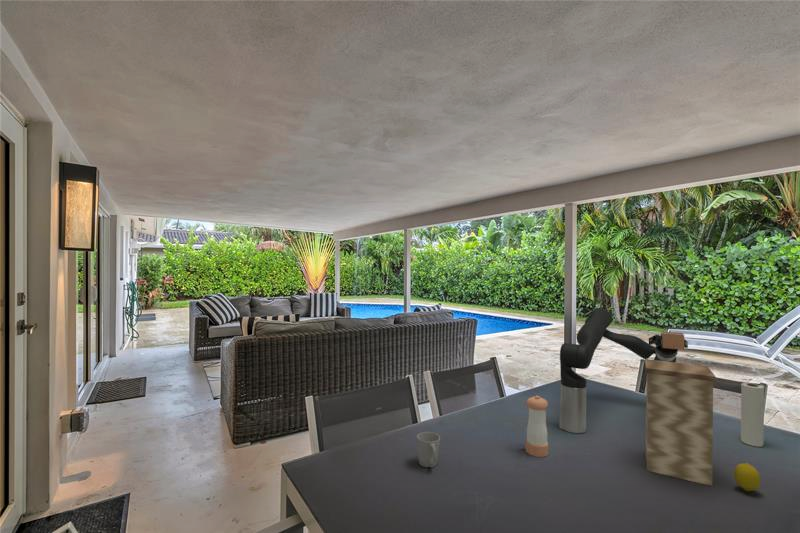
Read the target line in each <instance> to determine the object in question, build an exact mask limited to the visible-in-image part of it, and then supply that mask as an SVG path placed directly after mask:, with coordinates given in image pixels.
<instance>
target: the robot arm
mask: <svg viewBox="0 0 800 533" xmlns="http://www.w3.org/2000/svg"><path fill="white" fill-rule="evenodd" d="M612 322H613V315H612V313H611V312H610V311H609V310H608V309H606V308H603V307H596V308H595V309H593V311H591V313H590V314H589V315H588V317H587V318H586V319H585V320H584V324H583V325H582V326H581V328H580V329H579V330H578V331H577V333H576V342H577V344H576V343H570V342H569V343H567V342H565V343H562V345H561V346H560V348H559V362H560V363H559V365H560V367H559V368H560V403H559V419H558V420H559V426H558V427H559V429H560V430H563V431H565V432H569V433H573V434H584V433H585V432H586V431H587V379H586V378H585V377H583V376H581V375H580V374H578V373H577V372H575V371H574V370H573V369H579V370H586V369H588V368H589V367H590V365H591V363H592V360H593V357H594V354H595V351H596V350H597V348H598V346H599V345H600V343H601V341H602V339H603V338H605V339H607V340H609V341H611V342H614V343H615V344H618V345H620V346H622V347H624V348H626V349H627V350H628V351H631V352H632V353H634V354H635V355H636V356H639V357H640V358H642V359H643V360H645V359H649V358H651V357H652V356H653V355H655V356H654V358H653V360H658V361H667V362H676V363H677V355H678V354H679V353H678V350H679V349H670V348H663V346H662V332H661V334H654V335H652V336H651V337H648V342H646V341H645V340H643V339H642V338H641V337H638V336H635V335H631V334H630V335H629V334H625V333H624V334H623V333H617V332H614V331H611V330H609V329H607V328H609V326H610V325H611V324H612ZM654 345H655V346H654ZM688 348H689V342H688V340H686V339H685V338H684V349H688Z"/></svg>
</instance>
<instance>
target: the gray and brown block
mask: <svg viewBox="0 0 800 533" xmlns="http://www.w3.org/2000/svg"><path fill="white" fill-rule="evenodd" d="M661 333H662V346H663V348H670V349H678V350H682V351H685V348H684V339H685V334H684V333H683V332H675V331H666V330H665V331H664V330H663V331H661Z"/></svg>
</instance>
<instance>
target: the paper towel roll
mask: <svg viewBox="0 0 800 533" xmlns="http://www.w3.org/2000/svg"><path fill="white" fill-rule="evenodd" d="M740 389H741V391H740V395H741V396H740V399H741V400H740V407H741V408H740V409H741V410H740V440H741V442H742V443H744V444H746V445H748V446H752V447H757V448H759V447H763V446H764V443H765V442H764V436H765V435H764V434H765V433H764V432H765V428H764V427H765V423H764V421H765V420H764V419H765V386H764V385H763V384H761V385H759V384H755V383H750V382H749V383H748V382H745V383H743V382H742V383H741V388H740Z"/></svg>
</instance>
